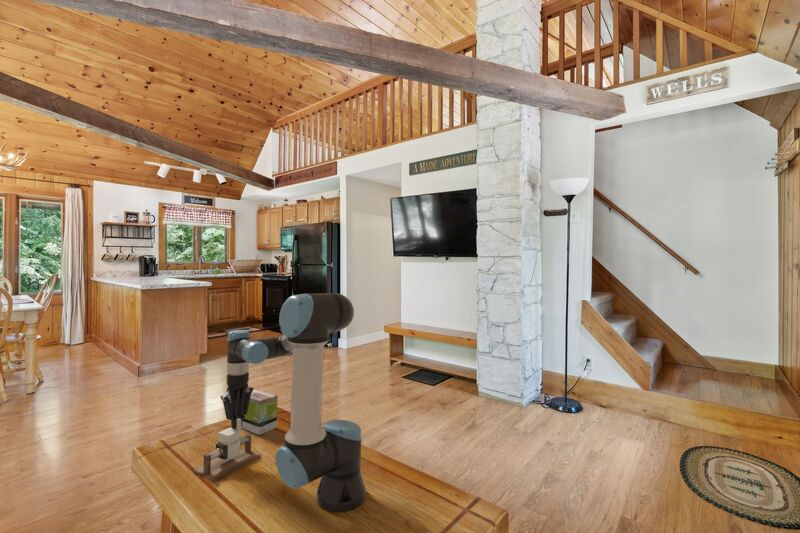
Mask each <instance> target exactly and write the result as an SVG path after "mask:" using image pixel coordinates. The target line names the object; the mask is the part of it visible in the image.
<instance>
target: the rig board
mask: <svg viewBox="0 0 800 533" xmlns="http://www.w3.org/2000/svg"><path fill="white" fill-rule="evenodd" d="M244 436H248V438H249V441H248V442H247V443H245V444H244V448H243V447H241V446H240V454H239V455H237V456H235V457H233V458H231V459H230V460H223V459H220V458H215V459H213V460H211V455H210V454H209V453H205V454H203V464H201V465H199V466H197V467H195V468H193V469H192V470H193V472H192V473H193V474H196V473H197V474H196V475H199V476H201V475H202V476H201V477H204V476H205V477H204V478H206V477H207V479H209V478H210V479H209V480H211V479H212V480H211V481H214V482H219V481H220V480H222V479H224V478H226V477H228V476H230V475H232V474H233V473H235V472H237V471H238V470H241V468H243V467H246V466H247V465H249V464H251V463H252V462H254V461H256V460H257V459H260V458H261V456H262V454H261V453H259V452H256V451H253V450H252V434H249V433H246V434H245V435H244Z"/></svg>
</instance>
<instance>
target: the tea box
mask: <svg viewBox="0 0 800 533" xmlns="http://www.w3.org/2000/svg"><path fill="white" fill-rule="evenodd" d="M278 401H279V400H278V395H277V394H275V393H271V392H267V391H264V390H261V389H257V388H256V389H253V391H252V393H251V397H250V402H249V407H248V412H247V414H246V415H244V416H245V417H244V418H242V426H241V430H242V429H243V430H245V431H248V432H250V433H253V434H255V435H258V436H260V435H263V434H266V433H268V432H270V431H273V430H275V429H277V427H278Z"/></svg>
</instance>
